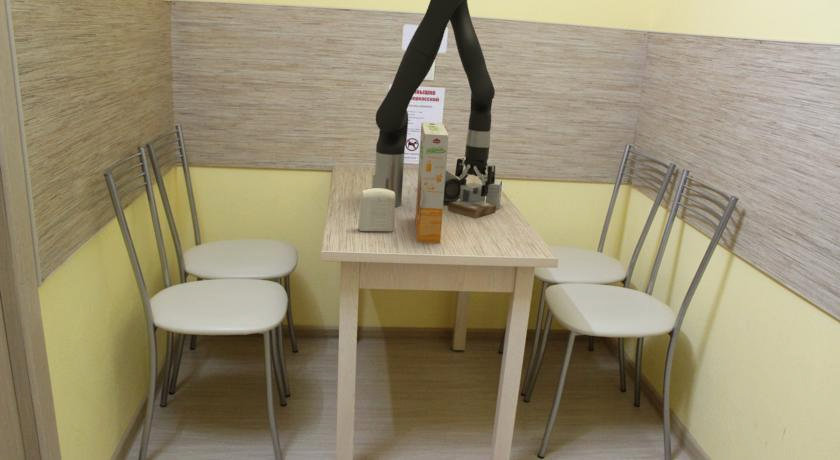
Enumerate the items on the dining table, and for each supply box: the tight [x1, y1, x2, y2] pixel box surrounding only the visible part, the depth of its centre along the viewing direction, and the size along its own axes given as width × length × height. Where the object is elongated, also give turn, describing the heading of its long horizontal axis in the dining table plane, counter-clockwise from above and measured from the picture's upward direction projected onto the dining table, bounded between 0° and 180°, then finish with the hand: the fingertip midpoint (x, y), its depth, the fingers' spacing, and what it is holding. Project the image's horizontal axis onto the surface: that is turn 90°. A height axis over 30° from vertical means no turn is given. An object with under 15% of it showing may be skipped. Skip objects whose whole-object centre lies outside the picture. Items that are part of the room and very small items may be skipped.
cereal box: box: [414, 121, 449, 244], centre depth 193 cm, size 22×6×30 cm, turn 2°
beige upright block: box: [358, 188, 396, 232], centre depth 193 cm, size 10×4×12 cm, turn 103°
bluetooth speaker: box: [443, 170, 460, 203], centre depth 236 cm, size 23×9×10 cm, turn 20°
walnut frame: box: [447, 200, 496, 219], centre depth 221 cm, size 11×11×3 cm
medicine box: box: [485, 178, 503, 211], centre depth 228 cm, size 8×4×9 cm, turn 168°
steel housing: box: [458, 182, 486, 207], centre depth 220 cm, size 7×5×6 cm
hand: (473, 193), depth 219 cm, fingers open, 8 cm apart
